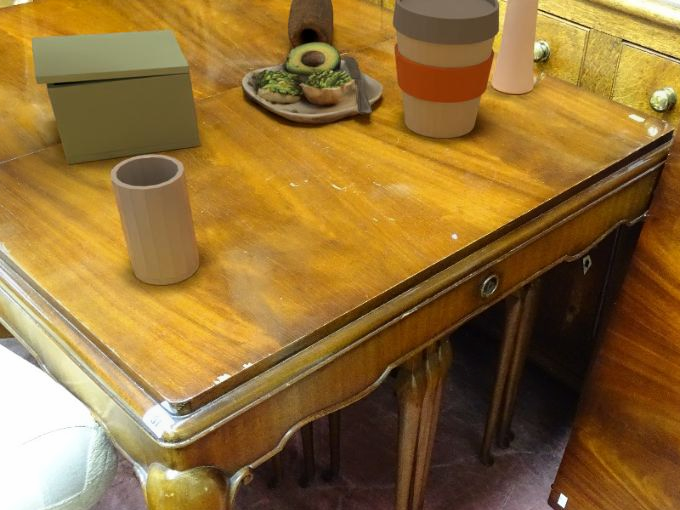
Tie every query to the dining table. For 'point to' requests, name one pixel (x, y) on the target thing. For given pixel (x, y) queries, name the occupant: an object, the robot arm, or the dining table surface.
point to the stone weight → (310, 22)
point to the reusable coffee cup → (444, 62)
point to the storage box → (124, 116)
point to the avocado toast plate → (313, 86)
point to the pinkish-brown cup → (156, 218)
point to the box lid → (107, 56)
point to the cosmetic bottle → (517, 48)
